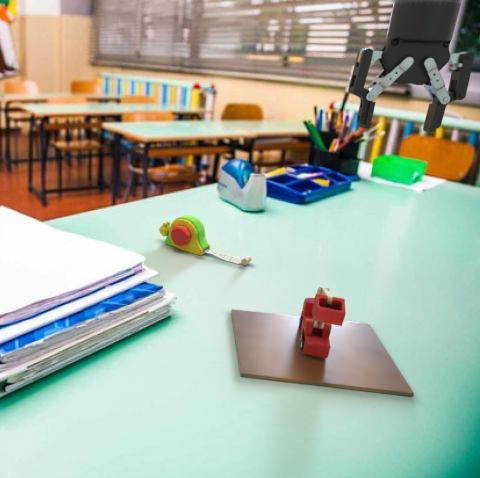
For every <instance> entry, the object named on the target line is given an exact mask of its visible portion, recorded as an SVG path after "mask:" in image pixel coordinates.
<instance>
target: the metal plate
mask: <svg viewBox="0 0 480 478" xmlns="http://www.w3.org/2000/svg"><path fill="white" fill-rule="evenodd" d="M230 313H231V320H232V326H233V327H232V328H233V333H234V338H235V346H236V347H235V348H236V354H237V359H238V366H239V373H240V377H243V378H251V379H252V378H253V379H262V380H270V381H277V382H288V383H295V384H303V385H304V384H305V385H313V386H321V387H328V388H329V387H330V388H337V389H346V390H355V391H361V392H362V391H363V392H370V393H379V394H389V395H397V396H405V397H414V395H415V392H414V390H413V388H411V386H410V385H409V383H408V382H407V380H406V378H405V377H404V375H403V374H402V372H401V371H400V370H399V368H398V366H397V364H396V363H395V361H394V360H393V358H392V357H391V355H390V354H389V352H388V350H387V349H386V348H385V346H384V345H383V343H382V341H381V340H380V338H379V337H378V335H377V334H376V332H375V330H374V329H373V327H372V326H371V324H370V323H368V322H358V321H349V320H344V321H343V324H342V326H338V325H333V324H332V328H331V332H330V336H329V340H330V346H331V348H330V351H329V355H328V358H323V357H317V356H312V355H306V354H303V350H301V342H300V340H301V334H302V333H301V327H299V320H300V317H301V315H300V316H299V315H291V314H282V313H280V314H279V313H271V312H261V311H253V310H241V309H233V308H231V310H230Z"/></svg>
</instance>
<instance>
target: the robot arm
mask: <svg viewBox="0 0 480 478" xmlns="http://www.w3.org/2000/svg"><path fill="white" fill-rule="evenodd" d="M462 2H463V0H393V6H392V10H391V14H390V19H389V24H388V28H387V33H386V38H385V43H384V46H383V48H382V49H381V50H375V49H372V48H370V47H369V48H364V47H363V48H360V49H359V50H358V51H357V54H356V58H355V62H354V66H353V70H352V73H351V78H350V80H349V85H348V89H347V91H348V94H351V95H353V96H356V97H358V98H359V100H360V102H359V107H358V112H357V117H356V122H357V124H359V127H360V128H361V129H364V130H369V129H370V128H371V126H372V121H373V116H374V112H375V107H376V103H377V101H375V99H376V98H377V97H378V96H379V95H381V93H382V92H384V90H386V89H388V88H389V87H390V86H391V85H392V84H394V85H408V84H409V85H414V86H423V87H424V88H425V90H426V91H427V93H428V95H429V96H430V99H431V100H432V102H429V103H428V107H427V111H426V115H425V119H424V123H423V127H422V130H423V131H424V132H425V133H432V134H434V133H436V131H437V129H440V127H441V126H442V123H443V120H444V116H445V112H446V108H447V106H448V104H450V103H452V102H456V101H463V100H464V99H465V98H466V96H467V92H468V88H469V83H470V78H471V74H472V69H473V65H474V64H473V63H474V61H475V54H474V52H472V51H460V52H455V53H450V52H451V51H450V44H451V42H452V40H453V36H454V33H455V28H456V25H457V20H458V17H459V13H460V9H461V6H462ZM377 60H378V62H379V63H380V65H381V67H382V70H381V71H379V73H378V74H377V75H376V76H375V77H374V78H373V79H372V80H371V82H370V83H369V85H368V86H366V81H367V78H368V74H369V70H370V67H373V66H374V65H375V64H376V61H377ZM448 64H449V69H450V70H451V74H450V79H449V82H448V83H449V84H448V89H447V88H446V83H445V81H444V79H443V77H442V74H441V72H440V71H441V70H442V69H443V68H444V67H445V66H446V65H448ZM365 86H366V87H365Z"/></svg>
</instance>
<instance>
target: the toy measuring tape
mask: <svg viewBox="0 0 480 478" xmlns="http://www.w3.org/2000/svg"><path fill="white" fill-rule="evenodd" d="M159 234H160V235H161V236H163V237H165V239H164V245H168V246H170V247H173V248H176V249H178V250H181V251H184V252H188V253H189V254H195V255H198V256H202V255H205V254H209V255H212V256H214V257H216V258H218V259H220V260H222V261H224V262H227V263H233V264H235V265H241V264H242V266H246V265H248V264H249V263H251V261H252V260H253V258H252V256H250V255H246V256H244V257H242V258H240V257H238V256H235V255H231V254H226V253H223V252H219V251H216V250H211V244H210V243H209V242H208V240H207V237H206V227H205V225H204V223H203V221H202V220H201V219H200V218H198V217H196V215H192V214H184V215H181V216H179V217H177V218H175V219H173V220H172V222H170V221H169V220H167V221H166V222H163V223H162V225H160V226H159Z"/></svg>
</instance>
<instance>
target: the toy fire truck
mask: <svg viewBox="0 0 480 478" xmlns="http://www.w3.org/2000/svg"><path fill="white" fill-rule="evenodd" d="M346 315H347V314H346V300H345V298H343V297H337V296H332V294H331V293H330V288H329V287H326V288H325V287H322V286H319V287H318V288H317V291H316V293H315V296H314V297H306V298H304V301H303V305H302V310H301V313H300V316H301V317H300V320H299V327H301V333H302V334H301V340H300V342H301V350H303V354H306V355H312V356H317V357H323V358H328V355H329V351H330V348H331V346H330V340H329V336H330V332H331V328H332V324H333V325H338V326H342V324H343V321H345V318H346Z"/></svg>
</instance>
